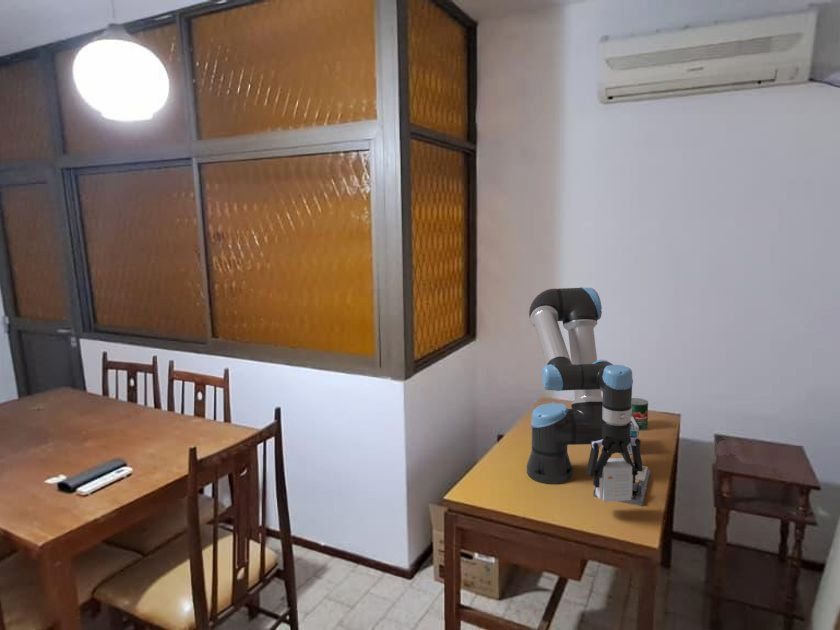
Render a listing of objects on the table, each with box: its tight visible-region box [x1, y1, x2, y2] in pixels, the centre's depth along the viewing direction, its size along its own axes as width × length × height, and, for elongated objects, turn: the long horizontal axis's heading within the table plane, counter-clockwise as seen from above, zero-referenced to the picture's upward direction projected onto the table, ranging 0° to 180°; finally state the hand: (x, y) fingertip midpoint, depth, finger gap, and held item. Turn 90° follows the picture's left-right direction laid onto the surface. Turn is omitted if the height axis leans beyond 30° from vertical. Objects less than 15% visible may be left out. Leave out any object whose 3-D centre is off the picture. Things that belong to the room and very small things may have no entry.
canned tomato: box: [631, 397, 649, 432], centre depth 214 cm, size 8×8×11 cm
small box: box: [601, 457, 632, 503], centre depth 151 cm, size 8×6×10 cm
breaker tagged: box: [632, 480, 639, 491], centre depth 162 cm, size 7×3×2 cm, turn 151°
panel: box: [592, 463, 651, 507], centre depth 169 cm, size 22×14×4 cm, turn 152°
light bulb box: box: [618, 417, 640, 455], centre depth 195 cm, size 11×7×11 cm, turn 168°
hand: (613, 494), depth 152 cm, fingers closed on small box, 8 cm apart
